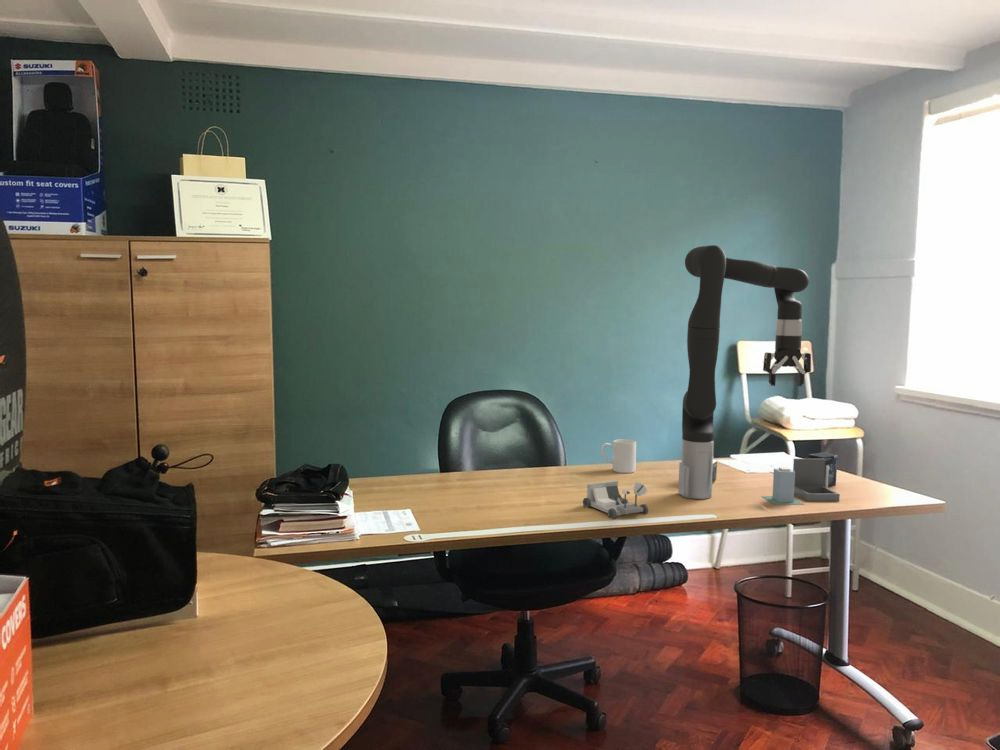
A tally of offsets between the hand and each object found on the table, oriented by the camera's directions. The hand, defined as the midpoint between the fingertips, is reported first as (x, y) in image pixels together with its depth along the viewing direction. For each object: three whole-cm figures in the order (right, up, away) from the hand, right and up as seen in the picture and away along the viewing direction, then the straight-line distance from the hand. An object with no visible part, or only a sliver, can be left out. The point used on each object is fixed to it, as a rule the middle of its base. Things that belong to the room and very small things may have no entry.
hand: (786, 385), depth 232 cm
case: (+6, -34, -8) cm, 35 cm away
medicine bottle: (-23, -32, +12) cm, 41 cm away
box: (+14, -33, +8) cm, 37 cm away
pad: (-6, -34, -12) cm, 37 cm away
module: (-6, -34, -12) cm, 36 cm away
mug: (-48, -30, +27) cm, 63 cm away
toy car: (-57, -36, -24) cm, 71 cm away
